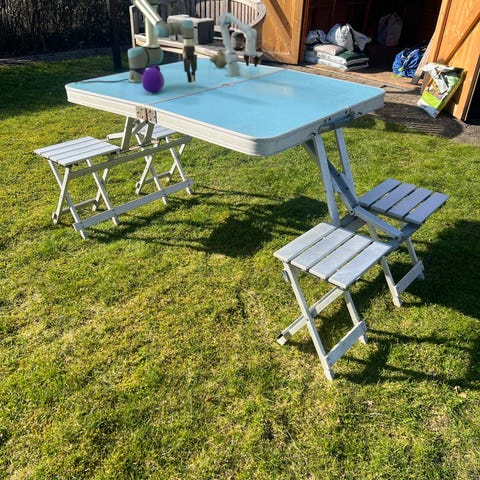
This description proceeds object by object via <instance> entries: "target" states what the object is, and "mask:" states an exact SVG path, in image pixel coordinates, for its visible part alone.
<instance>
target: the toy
mask: <svg viewBox="0 0 480 480" xmlns="http://www.w3.org/2000/svg"><path fill="white" fill-rule="evenodd" d="M134 71H135V72H137V73H139V74H141V75H143V76H142V83H141V85H142V87H143V89H144V90H145V91H146V92H147V93H151V94H157V93H159V92H160V91H161V90H162V89H163V87H164V86H165V78H164V75H163V72H161V67H160V66H159V65H158V64H153V65H151V66H150V65H149V67H148V68H146V70H134Z"/></svg>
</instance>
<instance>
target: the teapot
mask: <svg viewBox="0 0 480 480" xmlns="http://www.w3.org/2000/svg"><path fill="white" fill-rule="evenodd" d="M225 53H226V51H225V52H224V51H223V50H222V48H218V51H217V53H216V54H212V55H211V56H210V57H209V61H210V62H211V63H213V65H214V66H215V68H217V69H222V68H225V67H226V66H227V62H226V60H225Z"/></svg>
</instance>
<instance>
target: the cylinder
mask: <svg viewBox="0 0 480 480" xmlns="http://www.w3.org/2000/svg"><path fill="white" fill-rule="evenodd" d="M189 83H190V84H193V83H195V81H194V76H193V75H191V82H189Z"/></svg>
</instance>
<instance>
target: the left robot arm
mask: <svg viewBox="0 0 480 480" xmlns="http://www.w3.org/2000/svg"><path fill="white" fill-rule="evenodd" d="M159 2H161V0H130V3H132V4H133V6H134V7H136V8H138V10H139V11H140V12H141V13H142V15H144V31H145V43H144V44H143V46H134V47H131V48H129V49H127V57H128V66H129V76H128V78H124V79H119V80H88V81H82V80H77V81H75V82H74V84H78V83H83V84H88V83H118V82H119V83H120V82H125V81H128V82H129V83H133V84H142V76H143V75H141V74H139V73H137V72H135V71H134V70H147V67H146V66H150V65H151V66H152V65H158V64H160V63H162V61H163V59H164V51H163V49H162V47H161V45H160V44H159V42H158V41H159V39H158V38H165V37H173V36H174V37H175V36H182V44H183V52H184V56H182V61H183V69H184V71H183V72H184V73H186V78H187V83H190V82H191V75H193V76H194V82H196V72H197V70H198V54H196V53H195V52H196V47H195V28H194V27H195V25H194V21H193V20H192V19H183V20H181V22H178V21H176V22H172V23H166V22H165V21H164V19H162V17H161V16H160V14H158V11H157V9H158V6H159Z"/></svg>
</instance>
